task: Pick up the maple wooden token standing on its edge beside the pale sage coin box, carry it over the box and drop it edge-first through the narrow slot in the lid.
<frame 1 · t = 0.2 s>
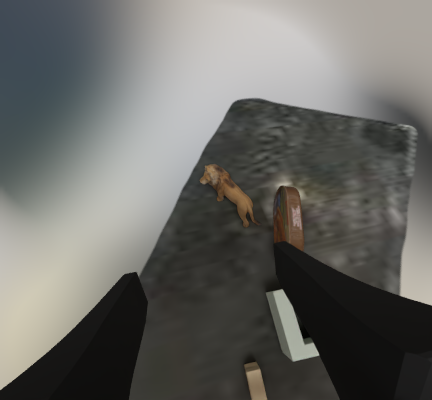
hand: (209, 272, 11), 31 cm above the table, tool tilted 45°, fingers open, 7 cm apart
lion figurine: (230, 204, 46), on the table
tin: (281, 230, 43), on the table
token: (253, 378, 33), on the table
coin box: (295, 315, 37), on the table
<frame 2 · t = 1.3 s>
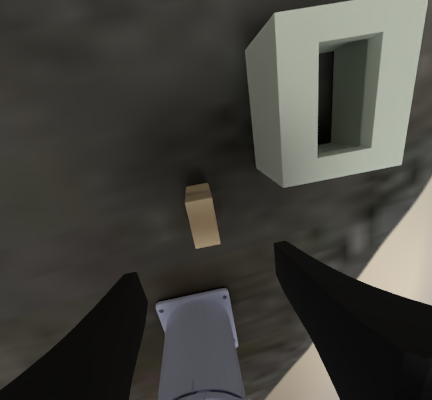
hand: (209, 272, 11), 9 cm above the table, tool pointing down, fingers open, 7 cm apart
token: (201, 204, 20), on the table
coin box: (297, 106, 18), on the table
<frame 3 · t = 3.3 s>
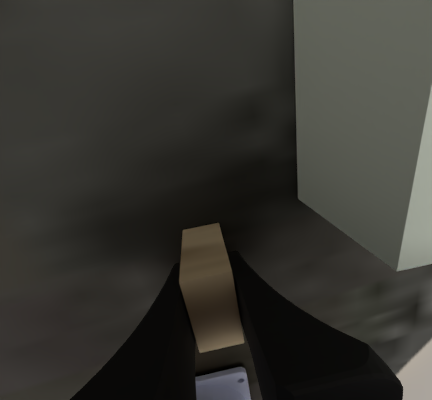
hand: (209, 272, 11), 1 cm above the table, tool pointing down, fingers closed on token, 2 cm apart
token: (207, 256, 12), on the table, touching gripper
coin box: (376, 96, 10), on the table
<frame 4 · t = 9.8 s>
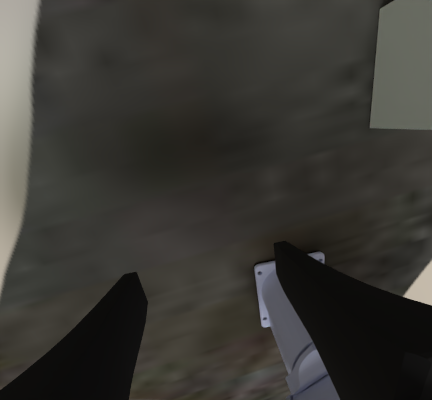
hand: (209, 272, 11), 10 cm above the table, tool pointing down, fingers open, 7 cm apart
coin box: (418, 65, 18), on the table
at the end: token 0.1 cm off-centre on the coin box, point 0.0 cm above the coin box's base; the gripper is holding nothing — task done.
